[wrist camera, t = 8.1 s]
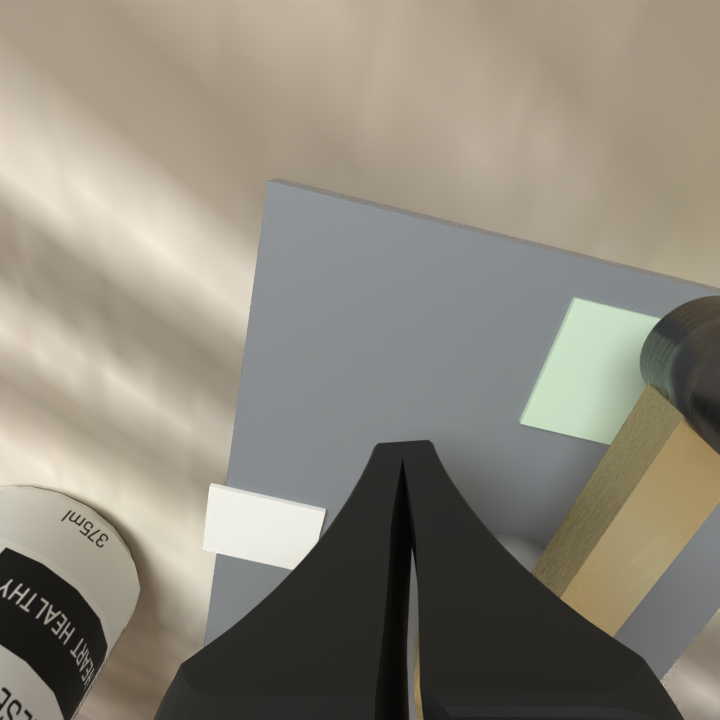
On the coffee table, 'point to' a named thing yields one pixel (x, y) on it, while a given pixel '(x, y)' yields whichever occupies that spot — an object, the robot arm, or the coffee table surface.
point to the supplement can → (57, 601)
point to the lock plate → (435, 394)
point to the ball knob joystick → (643, 480)
